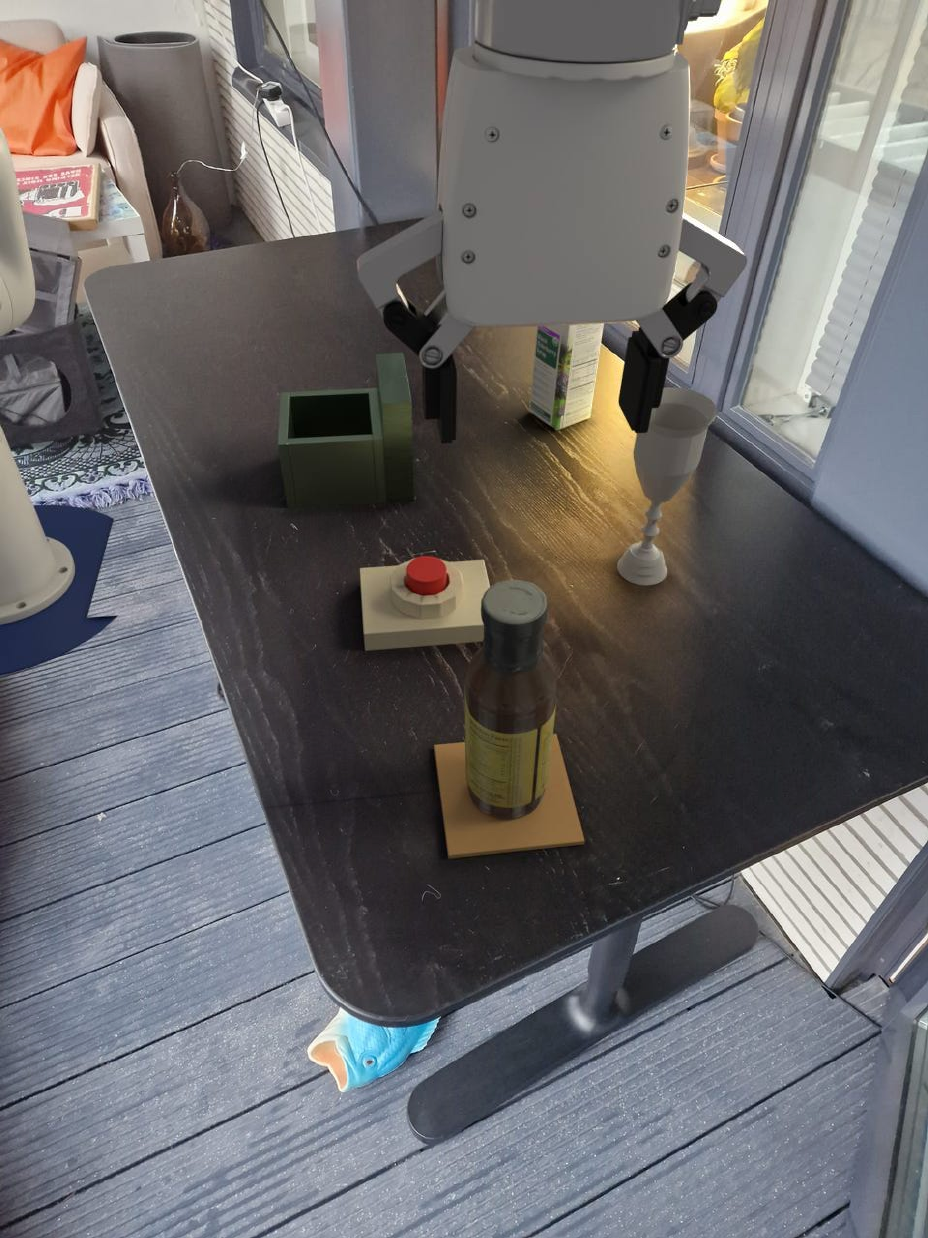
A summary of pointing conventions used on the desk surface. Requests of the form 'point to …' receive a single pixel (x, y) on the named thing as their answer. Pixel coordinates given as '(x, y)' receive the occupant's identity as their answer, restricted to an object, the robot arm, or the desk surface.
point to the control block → (422, 607)
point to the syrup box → (565, 373)
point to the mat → (490, 835)
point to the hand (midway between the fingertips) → (539, 423)
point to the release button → (426, 575)
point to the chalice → (665, 471)
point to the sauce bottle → (510, 703)
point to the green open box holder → (349, 442)
